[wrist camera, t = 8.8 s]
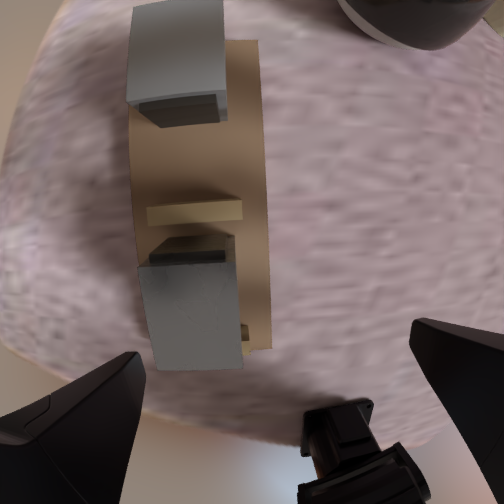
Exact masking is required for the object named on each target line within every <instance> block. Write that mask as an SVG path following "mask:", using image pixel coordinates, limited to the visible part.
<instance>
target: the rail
mask: <svg viewBox="0 0 504 504" xmlns="http://www.w3.org/2000/svg"><path fill="white" fill-rule="evenodd" d="M126 102H127V103H128V104H129V162H130V181H131V196H132V208H133V219H134V229H135V238H136V246H137V254H138V262H139V266H140V265H141V264H142V263H143V262H144V261H145V260H146V259H147V258H148V257H149V254H150V253H151V252H152V251H153V250H154V249H155V248H157V247H158V246H159V245H160V244H161V243H162V242H163V241H165V240H166V239H167V238H168V237H181V236H196V235H211V234H227V236H235V248H236V264H237V279H238V294H239V308H240V324H241V340H242V356H244V355H251V353H250V350H262V349H272V329H271V295H270V265H269V238H268V214H267V192H266V171H265V151H264V132H263V114H262V97H261V81H260V66H259V51H258V40H232V41H225V31H224V9H223V0H166V1H161V2H155V3H150V4H145V5H140V6H136V7H133V13H132V21H131V30H130V40H129V51H128V65H127V85H126Z"/></svg>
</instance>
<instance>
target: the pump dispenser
mask: <svg viewBox="0 0 504 504" xmlns="http://www.w3.org/2000/svg"><path fill="white" fill-rule="evenodd" d="M496 1H497V0H338V2H339V4H340V6H341V8H342V9H343V11H344V12H345V13H346V15H347V16H348V17H349V18H350V19H351V21H352V22H353V23H354V24H355V25H357V26H358V27H359V28H360V29H361V30H363V31H364V32H365V33H367V34H368V35H370V36H371V37H373V38H375V39H376V40H378V41H380V42H383V43H385V44H387V45H390V46H393V47H397V48H401V49H407V50H428V51H434V50H440V49H443V48H445V47H447V46H449V45H451V44H453V43H454V42H456V41H457V40H459V39H460V38H461V37H462V36H463V35H465V34H466V33H467V32H468V31H469V30H470V29H472V28H473V27H474V26H475V25H476V24H477V23H478V22H479V21H480V20H481V19H482V18H483V17H484V16H485V14H486V13H487V12H488V11H489V10H490V8H491V7H492V6H493V5H494V3H495V2H496Z"/></svg>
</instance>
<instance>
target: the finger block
mask: <svg viewBox="0 0 504 504" xmlns="http://www.w3.org/2000/svg"><path fill="white" fill-rule="evenodd" d="M137 268H138V275H139V281H140V288H141V294H142V299H143V305H144V311H145V316H146V321H147V326H148V331H149V336H150V340H151V345H152V349H153V354H154V358H155V362H156V367H157V371H194V370H225V369H243V356H242V340H241V324H240V308H239V294H238V279H237V264H236V248H235V236H227V234H211V235H196V236H181V237H168V238H167V239H166V240H165V241H163V242H162V243H161V244H160V245H159V246H158V247H157V248H155V249H154V250H153V251H152V252H151V253H150V254H149V257H148V258H147V259H146V260H145V261H144V262H143V263H142V264H141V265H140V266H138V267H137Z"/></svg>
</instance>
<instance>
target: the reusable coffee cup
mask: <svg viewBox="0 0 504 504" xmlns="http://www.w3.org/2000/svg"><path fill="white" fill-rule="evenodd" d="M483 18H484V19H485V20H486V21H487V23H488V24H489V25H490V26H491V27H492V28H493V29H494V30H495V31H496V32H497V33H498V34H499V35H500V36H502V37H503V38H504V0H497V1H496V2H495V3H494V5H493V6H492V7H491V8H490V10H489V11H488V12H487V13H486V14H485V16H484V17H483Z"/></svg>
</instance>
